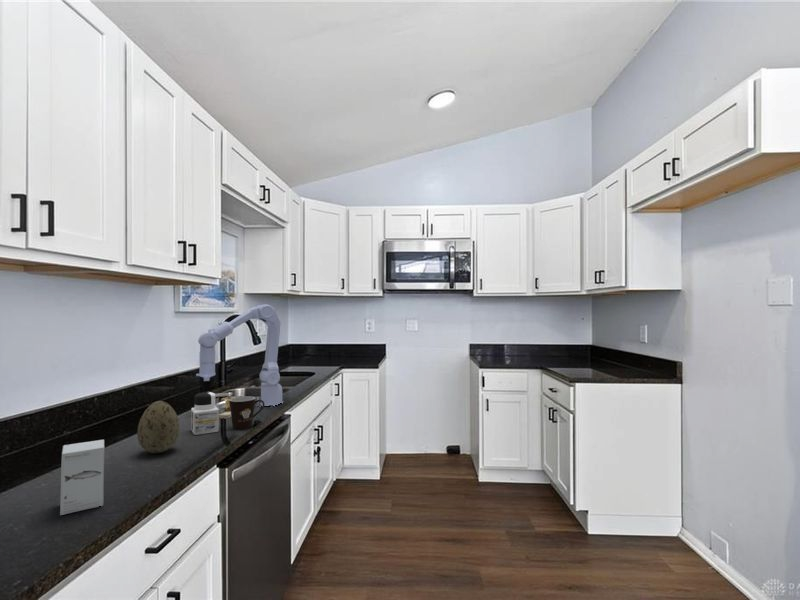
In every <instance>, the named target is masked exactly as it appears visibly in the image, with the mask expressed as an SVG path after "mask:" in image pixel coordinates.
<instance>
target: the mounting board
mask: <svg viewBox="0 0 800 600" xmlns="http://www.w3.org/2000/svg"><path fill="white" fill-rule="evenodd" d="M223 418H224V419H225V420H227V418H228V419H230V418H231V409H225V410H224V413H222V414H219V419H223Z"/></svg>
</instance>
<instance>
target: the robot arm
mask: <svg viewBox="0 0 800 600" xmlns="http://www.w3.org/2000/svg"><path fill="white" fill-rule="evenodd" d="M252 319H257V320H260V321H262V322H263V323H264V324H265V325H266V326H267V331H266V333H267V335H266V341H265V342H266V346H265V354H264V363H263V364H262V366H261V367H262V368H261V371H260V372H259V377H258V378H259V380H260V382H261V383H260V400H262V401H264V406H269V405H273V406H274V407H276V406H275V405H277V406H279V405H278V404H280V403H282V404H284V403H283V402H284V401H283V387H282V385H281V384H280V383H279V382H280V379H281V375H280V372H279V371H280V369H279V368H280V367H279V366H278V365H279V364H278V355H279V346H280V345H279V342H280V334H281V321H280V319H279V316H278V313H277V311H276V309H275V308H274V307H273V306H272V305H271V304H266V303H265V304H258V305H256V306H254V307H250V308H249V309H247V310H246V311H244V312H243V313H241V314H240V315H238V316H236V317H235V318H234V319H232V320H231V321H223V322H222V321H220V322H218V325H216V326H215V327H213V328H209V329H208V330H207V332H203V333H202V334H200V336H199V337H198V340H197V341H198V344H199V345H200V346H199V371H198V372H199V373H196V374H195V376H196V377H201V378H199V380H198V381H199V382H200V384H201V385H200V386H201V388H202V393H203V392H212V387H213V384H214V382H215V379H216V378H215V377H214V376H216V375H217V373H216V345H217V343H218V342H220V341H222V340H223V339H225V338H226V337H228V336H230V335H231V334H233V333H234V332H233V331H234V329H236V328H237V327H239V326H240V325H243V324H244V323H246V322H248V321H249V320H252ZM260 404H261V405H263V403H262V402H261V401H260ZM280 405H281V404H280Z"/></svg>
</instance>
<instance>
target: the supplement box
mask: <svg viewBox="0 0 800 600" xmlns="http://www.w3.org/2000/svg"><path fill="white" fill-rule="evenodd" d="M60 468H61V469H60V497H59V498H60V500H59V502H60V504H59V507H60V510H59V516H61V515H62V516H63V515H67V514H72V513H77V512H80V511H86V510H89V509H95V508H100V507H99V506H101V507H104V485H105V483H104V476H105V475H104V474H105V439H98V440H91V441H84V442H77V443H76V442H75V443H71V444H64V445H62V450H61V467H60Z"/></svg>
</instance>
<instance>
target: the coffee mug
mask: <svg viewBox="0 0 800 600" xmlns="http://www.w3.org/2000/svg"><path fill="white" fill-rule="evenodd" d="M229 401H230V409H231V417H230V418H231V424H232V425H231V426H232V430H235V431H237V430H238V431H240V430H241V431H242V430H247V429H251V428H252V427H253V419H254V418H255V417H256V416H257V415H258V414H260V413H261V412H262V411H263V409H264V408H265V407H264V401H262V400H261V399H257V400H256V397H255V396H242V397H238V396H237V397H236V398H232V399H230V400H229ZM258 402H260V403H261V402H262V403H263V406H262V407H260V409H259V410H258V411H257V412H256V413H254V411H255V405H256V404H257V403H258Z"/></svg>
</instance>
